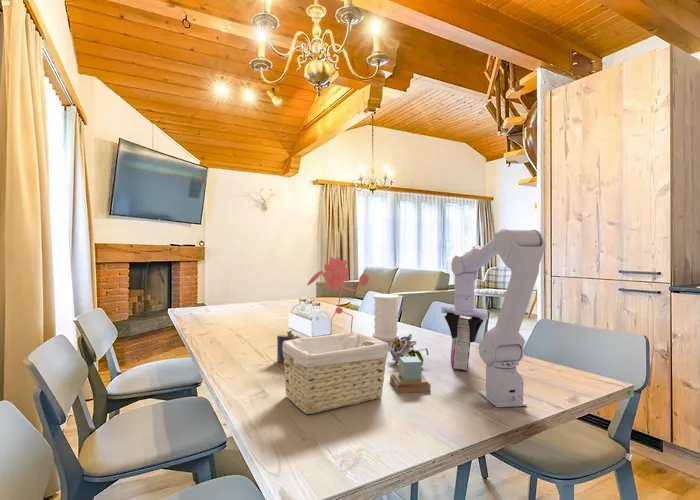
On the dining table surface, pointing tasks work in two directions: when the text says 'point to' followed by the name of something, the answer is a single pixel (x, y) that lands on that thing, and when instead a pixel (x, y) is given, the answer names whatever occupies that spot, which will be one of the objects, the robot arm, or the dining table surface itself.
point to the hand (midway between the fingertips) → (463, 339)
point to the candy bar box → (461, 345)
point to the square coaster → (409, 384)
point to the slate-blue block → (410, 368)
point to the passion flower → (404, 349)
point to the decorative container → (385, 317)
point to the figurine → (338, 279)
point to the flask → (280, 344)
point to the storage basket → (333, 370)
